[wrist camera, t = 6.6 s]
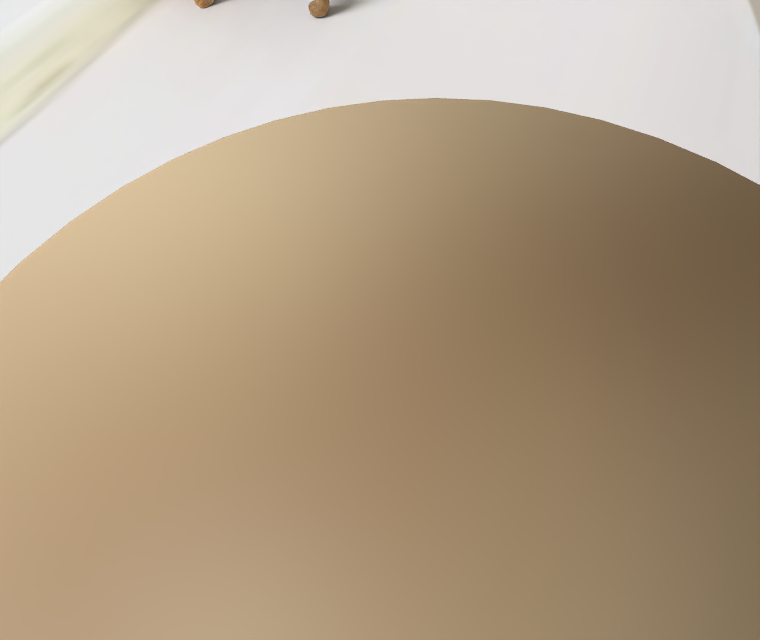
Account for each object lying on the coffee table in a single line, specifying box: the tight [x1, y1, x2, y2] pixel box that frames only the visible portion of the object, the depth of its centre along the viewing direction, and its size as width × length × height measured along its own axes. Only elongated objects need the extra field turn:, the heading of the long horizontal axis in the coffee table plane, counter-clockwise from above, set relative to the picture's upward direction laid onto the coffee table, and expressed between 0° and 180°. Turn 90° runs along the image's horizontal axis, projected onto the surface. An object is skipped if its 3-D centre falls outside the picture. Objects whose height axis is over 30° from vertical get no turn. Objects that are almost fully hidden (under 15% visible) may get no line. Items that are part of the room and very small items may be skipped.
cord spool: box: [0, 98, 760, 640], centre depth 8 cm, size 6×6×13 cm
